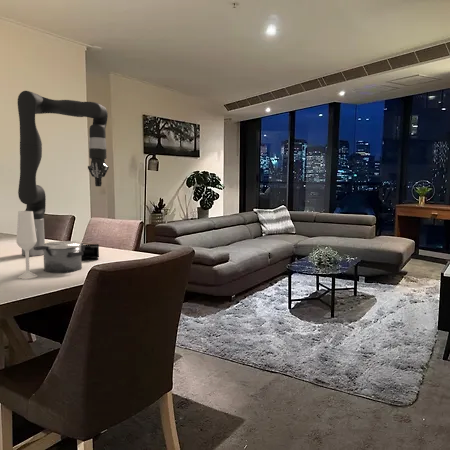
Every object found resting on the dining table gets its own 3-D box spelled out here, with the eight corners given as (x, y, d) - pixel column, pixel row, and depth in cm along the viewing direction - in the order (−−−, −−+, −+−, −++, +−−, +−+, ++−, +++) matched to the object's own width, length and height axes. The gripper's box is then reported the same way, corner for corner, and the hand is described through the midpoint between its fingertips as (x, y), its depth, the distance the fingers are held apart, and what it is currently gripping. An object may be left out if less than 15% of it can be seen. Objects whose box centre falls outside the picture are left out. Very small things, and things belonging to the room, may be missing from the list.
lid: (69, 242, 170) (69, 240, 170) (89, 246, 162) (89, 243, 162) (25, 248, 155) (25, 245, 155) (45, 252, 147) (45, 249, 147)
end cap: (98, 257, 187) (98, 243, 187) (99, 260, 181) (99, 245, 180) (75, 258, 184) (75, 244, 183) (76, 261, 177) (75, 246, 176)
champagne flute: (30, 273, 152) (28, 210, 150) (41, 276, 149) (39, 211, 146) (13, 277, 146) (11, 211, 144) (24, 279, 143) (22, 212, 141)
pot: (68, 262, 174) (67, 242, 173) (96, 268, 162) (96, 246, 161) (33, 268, 161) (32, 246, 160) (61, 275, 150) (60, 251, 149)
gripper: (81, 148, 184) (82, 186, 186) (100, 147, 177) (100, 186, 178) (95, 149, 190) (96, 186, 192) (113, 148, 183) (114, 186, 184)
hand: (98, 186), depth 185 cm, fingers closed
